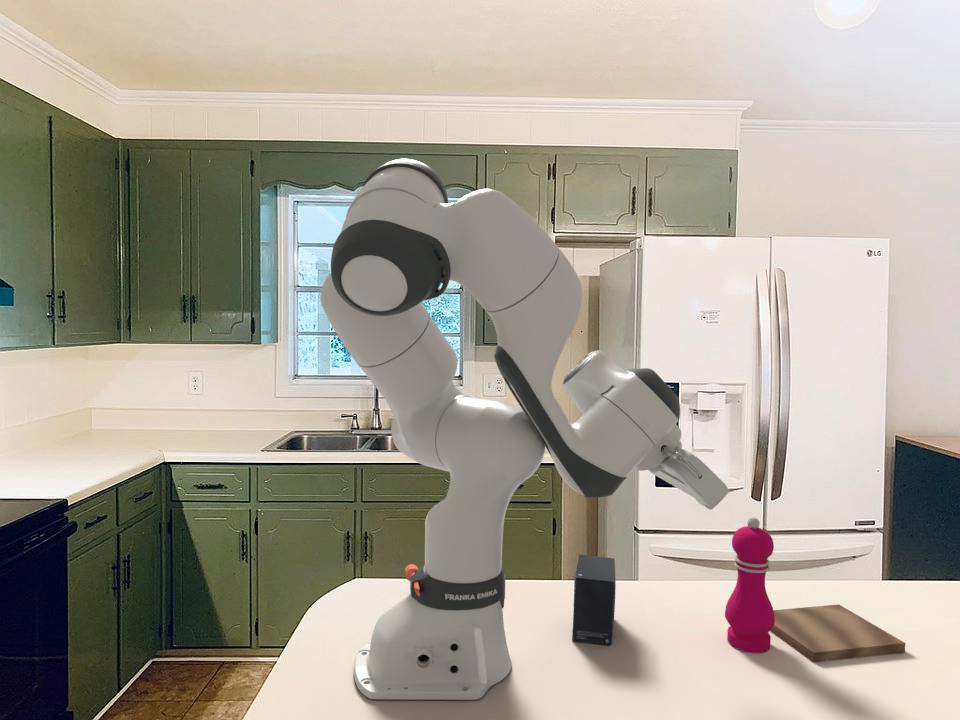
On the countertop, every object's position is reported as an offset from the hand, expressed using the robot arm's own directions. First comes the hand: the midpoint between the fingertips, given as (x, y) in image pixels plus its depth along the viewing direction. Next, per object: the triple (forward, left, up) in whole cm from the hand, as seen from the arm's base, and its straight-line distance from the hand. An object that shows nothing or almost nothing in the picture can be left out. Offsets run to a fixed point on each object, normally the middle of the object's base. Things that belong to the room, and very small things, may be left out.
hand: (710, 504), depth 102 cm
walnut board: (+22, +1, -23) cm, 31 cm away
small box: (-14, +10, -23) cm, 29 cm away
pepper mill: (+8, +1, -23) cm, 24 cm away
